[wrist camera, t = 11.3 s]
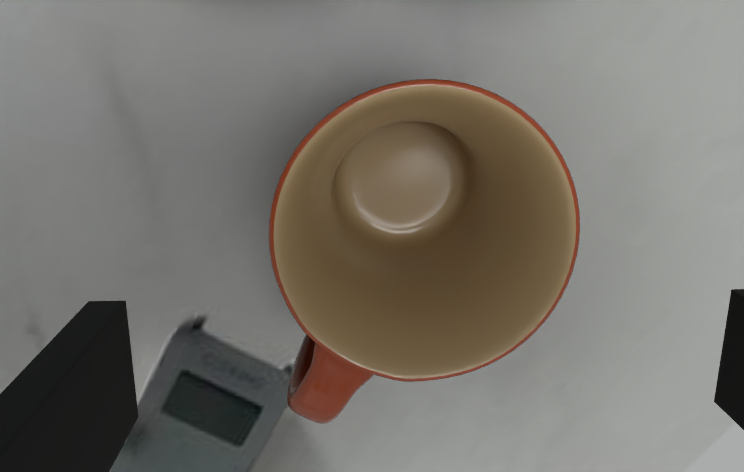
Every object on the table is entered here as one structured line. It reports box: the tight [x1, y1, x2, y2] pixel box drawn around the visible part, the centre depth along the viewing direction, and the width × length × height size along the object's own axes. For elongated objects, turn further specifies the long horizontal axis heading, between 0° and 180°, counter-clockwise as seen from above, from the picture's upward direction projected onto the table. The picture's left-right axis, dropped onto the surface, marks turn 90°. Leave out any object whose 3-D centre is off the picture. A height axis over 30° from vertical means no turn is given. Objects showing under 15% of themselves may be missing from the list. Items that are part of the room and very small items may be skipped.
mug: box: [269, 79, 580, 424], centre depth 24 cm, size 12×9×10 cm
